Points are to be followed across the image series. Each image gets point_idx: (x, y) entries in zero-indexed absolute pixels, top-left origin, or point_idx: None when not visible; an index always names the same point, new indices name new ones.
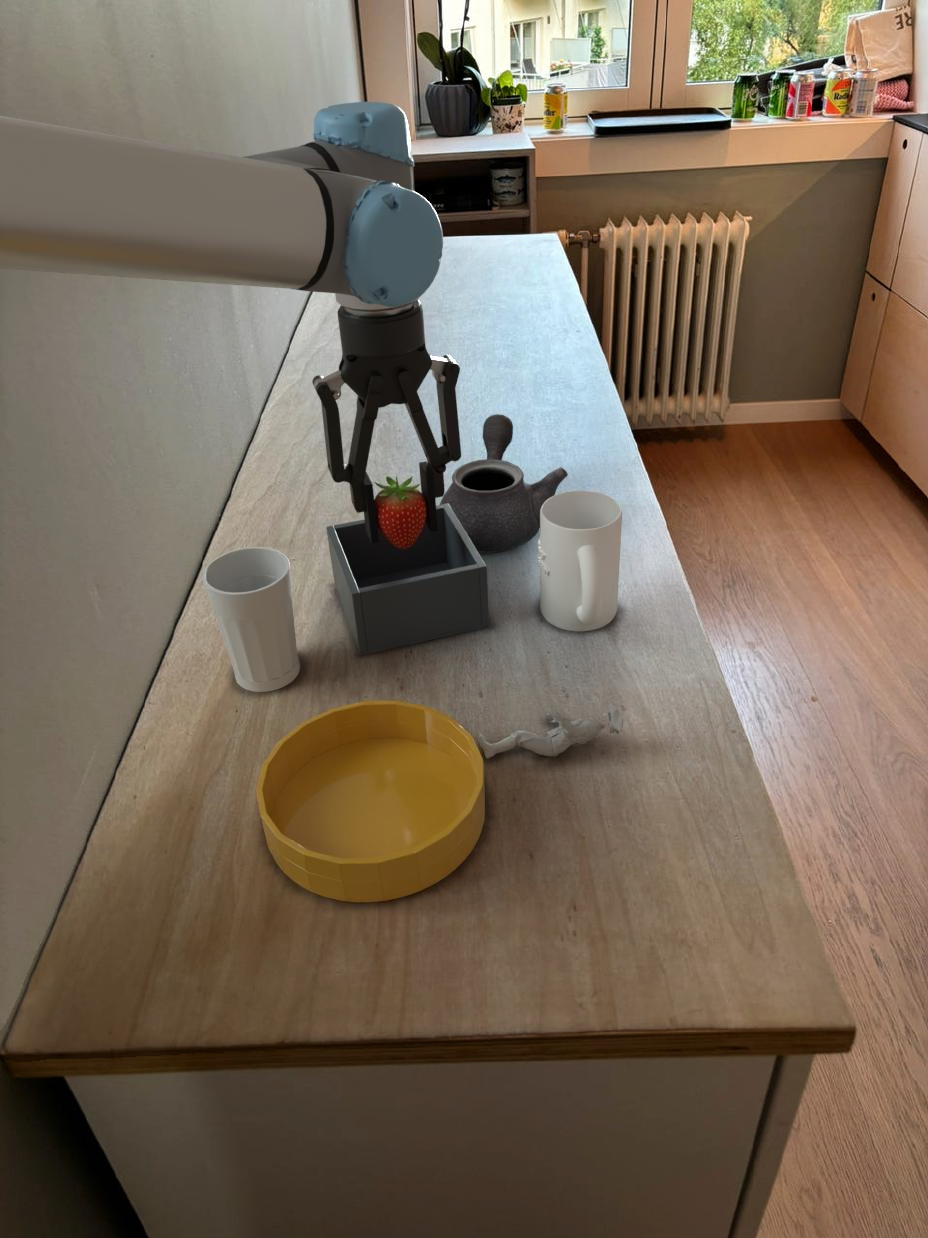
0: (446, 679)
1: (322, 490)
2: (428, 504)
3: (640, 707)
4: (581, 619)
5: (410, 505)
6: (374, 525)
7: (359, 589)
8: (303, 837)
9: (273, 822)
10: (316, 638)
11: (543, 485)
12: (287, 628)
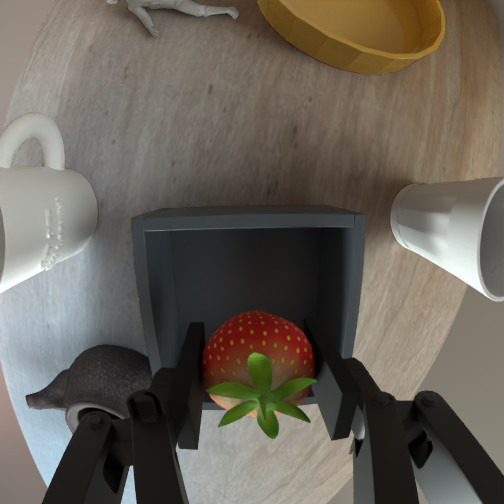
0: (240, 125)
1: (281, 478)
2: (197, 353)
3: (78, 48)
4: (61, 138)
5: (242, 347)
6: (318, 334)
7: (353, 223)
8: (399, 6)
9: None
10: (364, 257)
11: (51, 398)
12: (437, 193)
